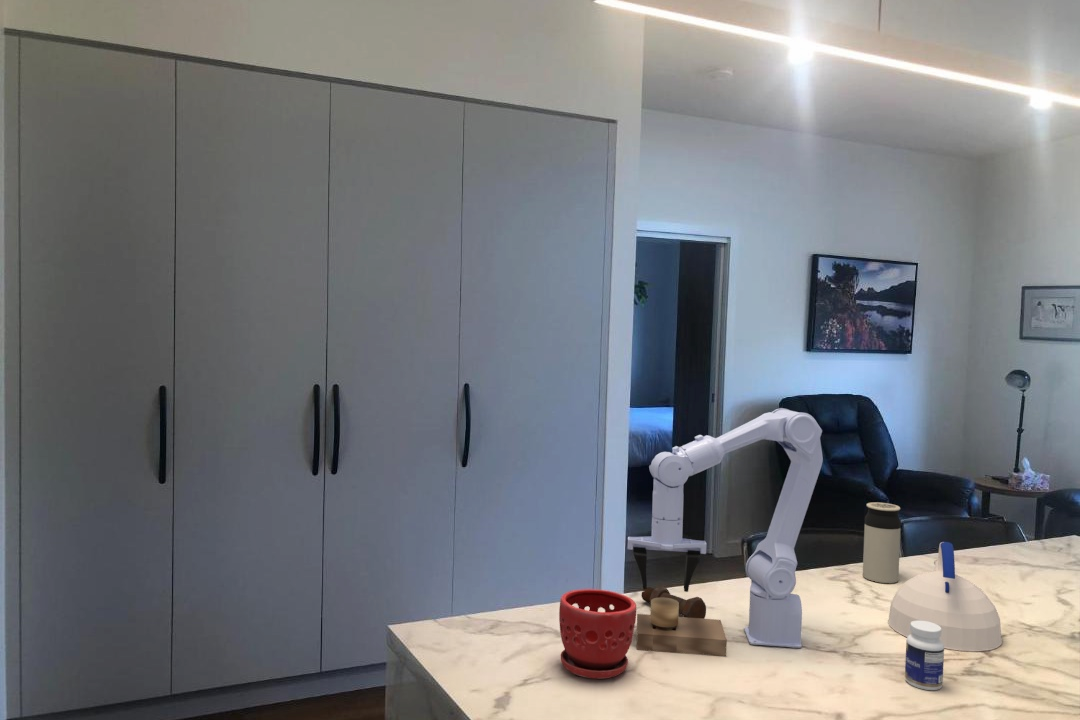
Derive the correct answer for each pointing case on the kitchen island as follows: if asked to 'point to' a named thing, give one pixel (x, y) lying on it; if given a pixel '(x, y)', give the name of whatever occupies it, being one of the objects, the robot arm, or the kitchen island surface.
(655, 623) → the oak peg
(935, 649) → the pill bottle
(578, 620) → the plant pot
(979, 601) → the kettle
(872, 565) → the travel mug
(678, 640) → the brown flat rectangular block
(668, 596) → the bolt
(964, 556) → the kitchen island surface
